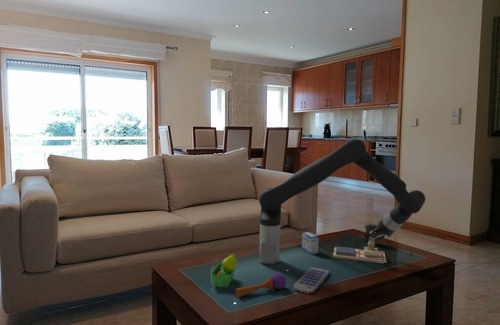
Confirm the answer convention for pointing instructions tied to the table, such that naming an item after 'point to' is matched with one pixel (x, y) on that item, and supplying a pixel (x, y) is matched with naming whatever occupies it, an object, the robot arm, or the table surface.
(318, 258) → the table surface
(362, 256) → the stamping board
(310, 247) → the medicine box
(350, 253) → the ink pad
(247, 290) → the kendama
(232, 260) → the fruit basket
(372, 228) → the coffee cup
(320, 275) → the remote control
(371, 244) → the stamp
